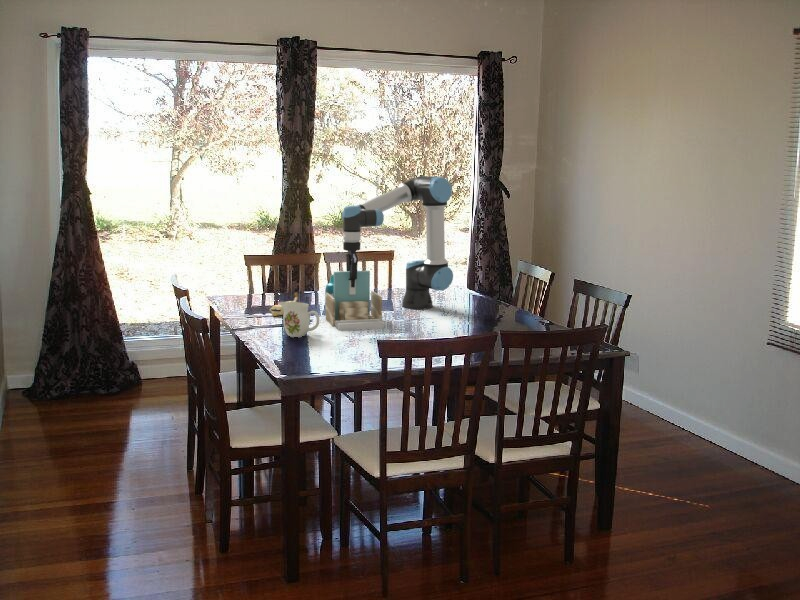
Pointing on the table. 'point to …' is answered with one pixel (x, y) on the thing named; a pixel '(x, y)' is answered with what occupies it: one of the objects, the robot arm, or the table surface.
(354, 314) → the offcut short
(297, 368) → the table surface
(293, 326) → the white floral mug
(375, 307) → the rack
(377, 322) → the stand
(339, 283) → the teal rectangular panel
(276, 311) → the cat figure
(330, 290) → the vase
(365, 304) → the offcut tall
